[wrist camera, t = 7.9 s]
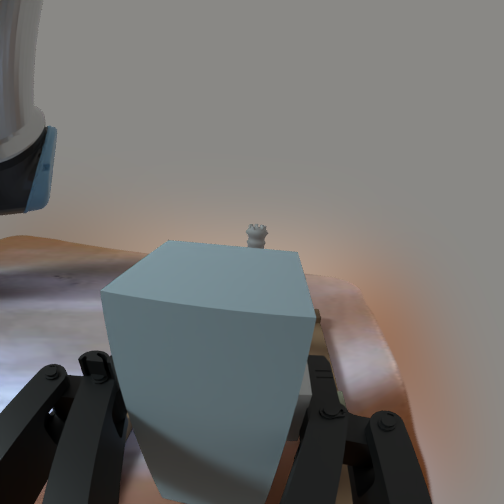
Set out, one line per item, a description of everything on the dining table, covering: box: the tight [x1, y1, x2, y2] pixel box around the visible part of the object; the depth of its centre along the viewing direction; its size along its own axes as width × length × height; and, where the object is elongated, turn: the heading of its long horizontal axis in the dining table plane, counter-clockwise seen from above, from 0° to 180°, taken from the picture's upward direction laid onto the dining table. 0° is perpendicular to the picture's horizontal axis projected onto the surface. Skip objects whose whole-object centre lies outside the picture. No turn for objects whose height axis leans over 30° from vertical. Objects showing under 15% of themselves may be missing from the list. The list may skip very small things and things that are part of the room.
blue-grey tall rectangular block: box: [100, 240, 316, 504], centre depth 10 cm, size 5×5×12 cm
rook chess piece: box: [246, 224, 268, 249], centre depth 42 cm, size 4×4×8 cm
